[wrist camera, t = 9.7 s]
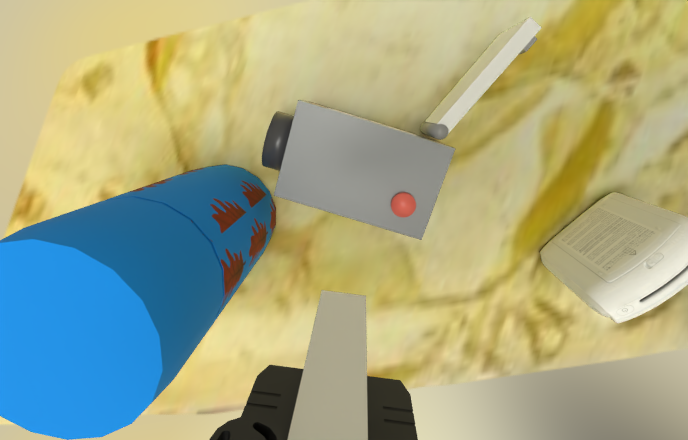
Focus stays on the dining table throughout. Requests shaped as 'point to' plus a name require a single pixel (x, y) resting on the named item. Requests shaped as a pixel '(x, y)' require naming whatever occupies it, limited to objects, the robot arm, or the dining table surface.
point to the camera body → (356, 167)
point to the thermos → (122, 297)
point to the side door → (480, 77)
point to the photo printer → (621, 256)
